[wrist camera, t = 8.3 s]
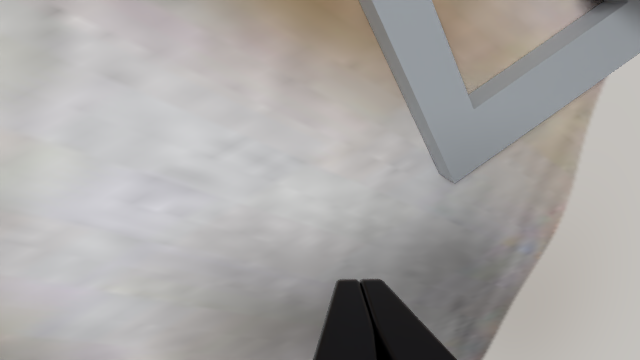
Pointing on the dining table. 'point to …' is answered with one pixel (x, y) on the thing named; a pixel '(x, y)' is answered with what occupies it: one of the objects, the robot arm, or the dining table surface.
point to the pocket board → (502, 90)
